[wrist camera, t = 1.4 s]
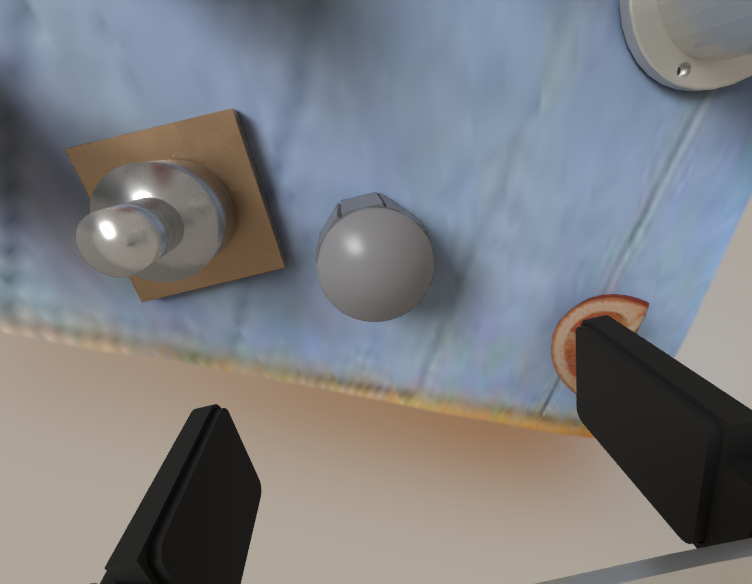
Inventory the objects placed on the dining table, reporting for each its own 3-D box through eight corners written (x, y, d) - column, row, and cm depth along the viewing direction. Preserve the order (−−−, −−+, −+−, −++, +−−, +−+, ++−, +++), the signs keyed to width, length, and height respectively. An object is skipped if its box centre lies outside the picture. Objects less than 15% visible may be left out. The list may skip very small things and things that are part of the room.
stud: (237, 110, 23) (177, 92, 15) (287, 262, 27) (262, 318, 19) (78, 148, 23) (-73, 153, 15) (150, 295, 27) (62, 366, 19)
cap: (406, 184, 26) (423, 196, 20) (422, 274, 28) (442, 307, 23) (311, 207, 26) (302, 225, 20) (336, 295, 28) (334, 333, 23)
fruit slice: (594, 376, 33) (635, 414, 29) (523, 365, 32) (553, 402, 28) (637, 287, 30) (690, 313, 26) (560, 272, 29) (602, 296, 25)
